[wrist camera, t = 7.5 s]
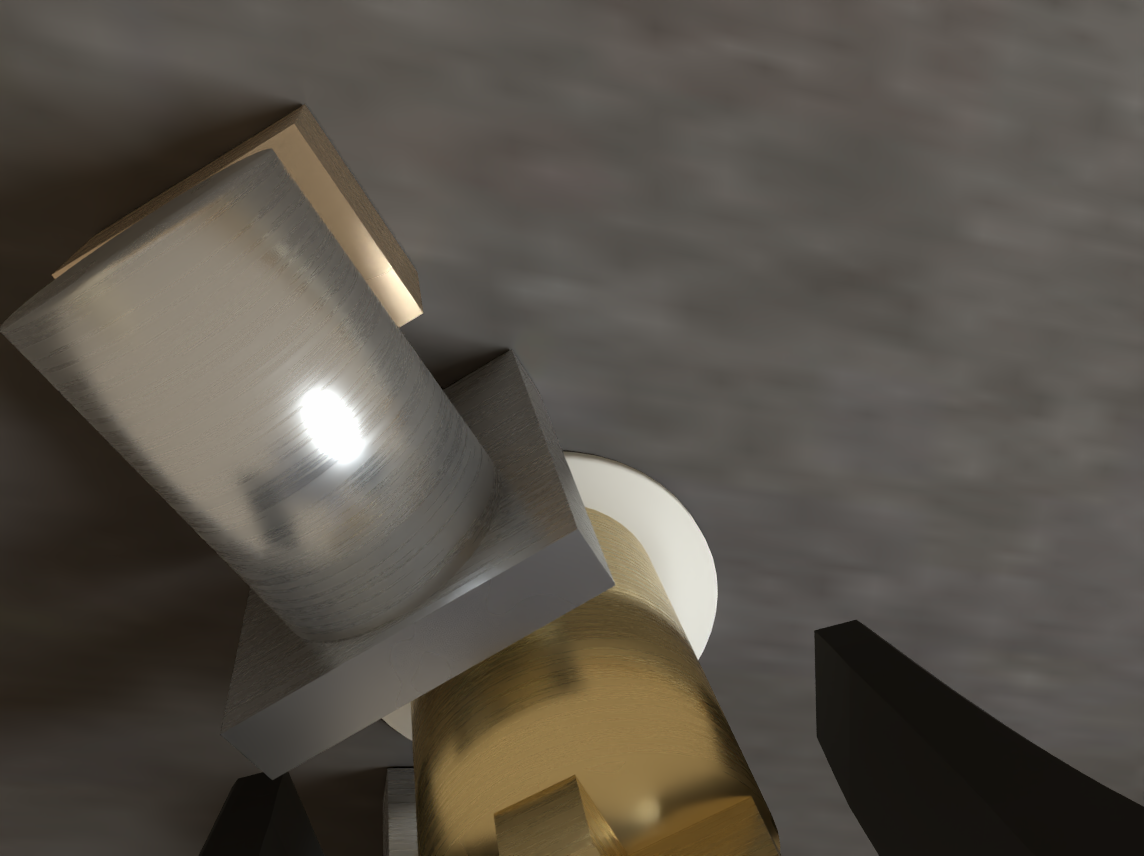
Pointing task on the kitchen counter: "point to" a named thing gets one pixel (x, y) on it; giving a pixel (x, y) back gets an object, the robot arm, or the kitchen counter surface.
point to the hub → (588, 738)
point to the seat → (660, 533)
